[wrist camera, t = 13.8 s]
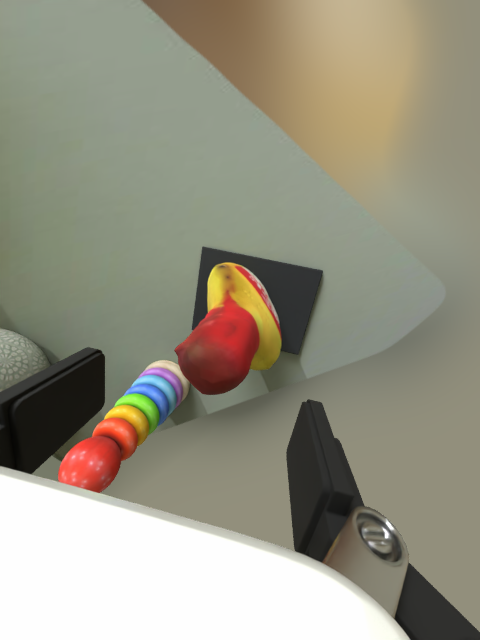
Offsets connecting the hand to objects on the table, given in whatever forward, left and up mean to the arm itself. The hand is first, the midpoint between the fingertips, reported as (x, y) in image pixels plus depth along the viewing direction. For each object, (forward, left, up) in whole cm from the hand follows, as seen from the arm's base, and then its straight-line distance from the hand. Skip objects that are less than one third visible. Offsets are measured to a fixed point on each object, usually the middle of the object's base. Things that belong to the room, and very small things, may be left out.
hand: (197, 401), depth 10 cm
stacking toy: (-11, -16, -23) cm, 30 cm away
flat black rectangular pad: (0, 0, -23) cm, 23 cm away
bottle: (0, 0, -22) cm, 22 cm away
